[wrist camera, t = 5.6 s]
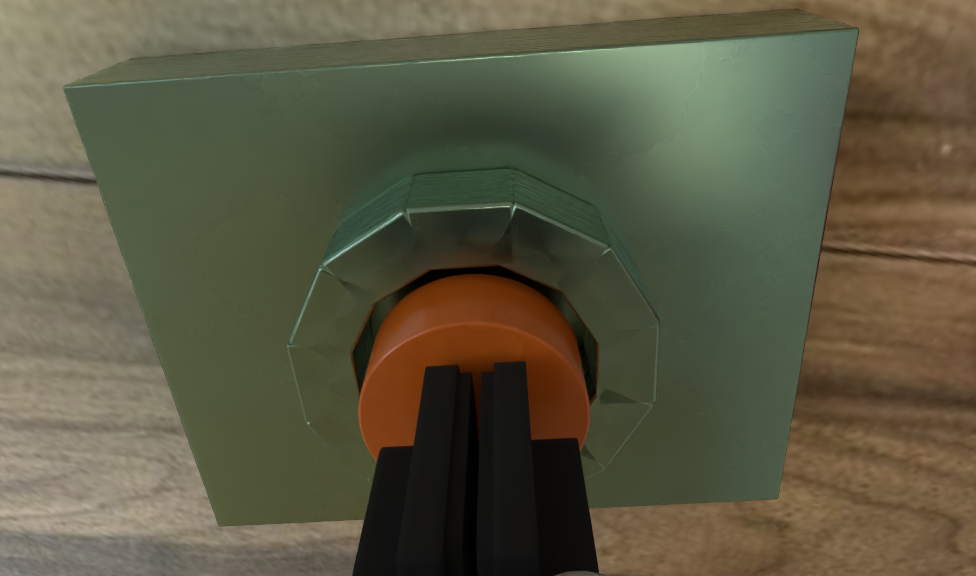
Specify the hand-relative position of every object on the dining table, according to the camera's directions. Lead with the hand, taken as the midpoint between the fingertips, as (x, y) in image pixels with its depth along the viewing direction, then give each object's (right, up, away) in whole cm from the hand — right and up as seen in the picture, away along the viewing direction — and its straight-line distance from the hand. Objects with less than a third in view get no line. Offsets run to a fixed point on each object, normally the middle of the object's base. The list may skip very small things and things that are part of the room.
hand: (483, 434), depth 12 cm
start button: (0, +1, +2) cm, 2 cm away
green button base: (0, +3, +5) cm, 6 cm away
